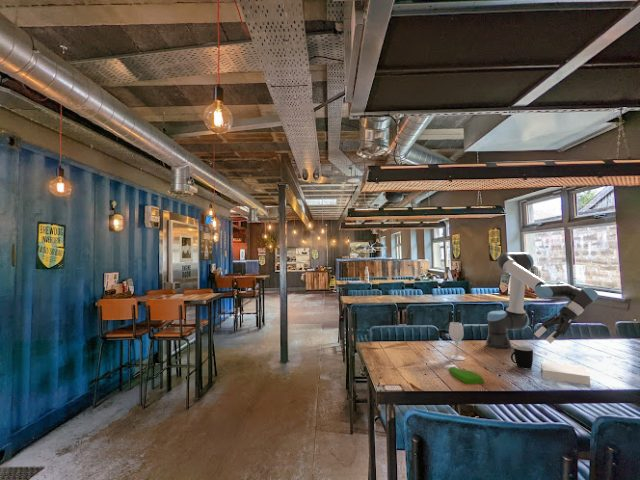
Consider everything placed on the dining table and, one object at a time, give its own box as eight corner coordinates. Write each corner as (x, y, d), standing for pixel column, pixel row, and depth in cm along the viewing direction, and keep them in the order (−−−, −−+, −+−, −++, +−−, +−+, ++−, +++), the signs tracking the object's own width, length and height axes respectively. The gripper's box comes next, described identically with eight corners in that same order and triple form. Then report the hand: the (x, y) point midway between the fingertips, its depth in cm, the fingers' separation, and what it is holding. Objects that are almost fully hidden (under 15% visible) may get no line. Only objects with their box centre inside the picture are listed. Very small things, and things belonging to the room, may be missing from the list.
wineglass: (447, 356, 195) (445, 322, 197) (460, 355, 196) (458, 321, 197) (454, 360, 186) (452, 324, 188) (468, 360, 187) (466, 324, 189)
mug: (525, 363, 179) (524, 345, 180) (538, 369, 170) (536, 350, 171) (506, 365, 177) (504, 346, 178) (518, 370, 169) (516, 351, 169)
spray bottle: (465, 385, 151) (439, 369, 175) (486, 384, 152) (458, 368, 176) (464, 379, 151) (439, 363, 175) (485, 377, 152) (457, 362, 177)
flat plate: (543, 378, 157) (542, 369, 157) (541, 368, 171) (540, 361, 171) (590, 385, 148) (589, 376, 148) (584, 374, 161) (583, 366, 161)
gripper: (591, 320, 158) (560, 349, 159) (564, 312, 182) (537, 338, 184) (578, 309, 159) (547, 338, 161) (553, 303, 183) (526, 328, 185)
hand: (541, 338), depth 172 cm, fingers open, 13 cm apart
